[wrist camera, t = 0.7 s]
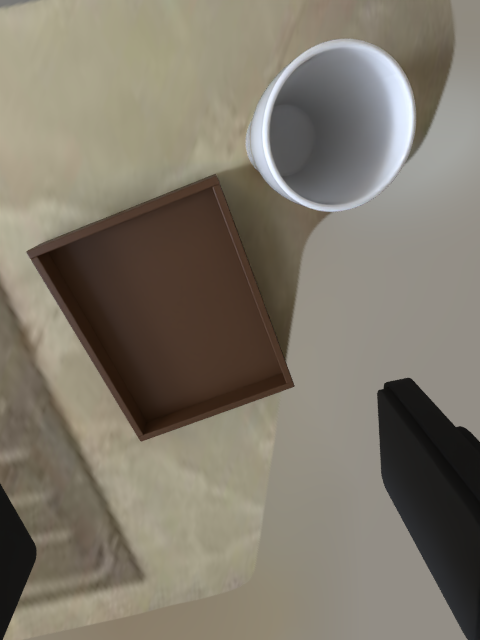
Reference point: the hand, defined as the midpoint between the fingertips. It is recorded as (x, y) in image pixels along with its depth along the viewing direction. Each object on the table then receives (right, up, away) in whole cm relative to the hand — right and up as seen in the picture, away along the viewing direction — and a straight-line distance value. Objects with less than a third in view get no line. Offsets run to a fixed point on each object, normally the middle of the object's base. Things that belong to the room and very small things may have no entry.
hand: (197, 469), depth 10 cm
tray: (-5, +4, +26) cm, 26 cm away
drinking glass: (+4, +17, +21) cm, 28 cm away
